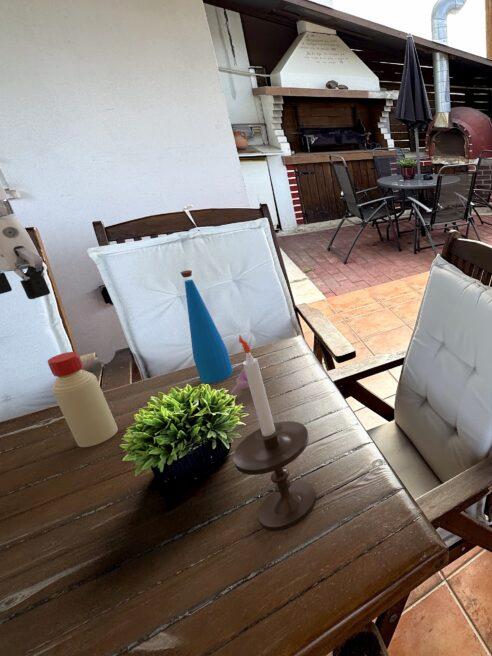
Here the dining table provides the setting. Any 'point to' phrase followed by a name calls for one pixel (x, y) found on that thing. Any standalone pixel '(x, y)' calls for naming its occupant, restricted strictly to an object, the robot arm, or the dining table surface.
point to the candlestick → (274, 457)
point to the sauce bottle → (84, 408)
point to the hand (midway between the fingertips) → (20, 295)
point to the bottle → (205, 338)
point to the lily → (241, 381)
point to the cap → (65, 364)
